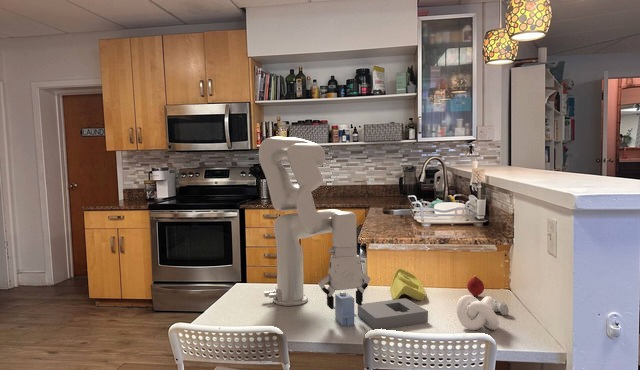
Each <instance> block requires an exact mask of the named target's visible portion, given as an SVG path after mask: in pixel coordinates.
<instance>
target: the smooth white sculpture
mask: <svg viewBox="0 0 640 370" xmlns="http://www.w3.org/2000/svg"><path fill="white" fill-rule="evenodd" d="M492 299H493V300H494V304H493V307H492V310H493V311H494V312H495V313H499V312H500V314H501V315H503V316H507V315H509V313H510V312H509V311H510V310H509V307H508V305H507V303H506V302H501V301H499V300H498V299H496V298H495V299H494V298H492Z"/></svg>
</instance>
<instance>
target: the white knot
mask: <svg viewBox="0 0 640 370" xmlns="http://www.w3.org/2000/svg"><path fill="white" fill-rule="evenodd" d="M493 299H494V298H493V297H491V296H490V295H487V296H485V297H483V298H482V299H481V300H479V299H478V298H476V297H474V296H473V295H472V294H465V295H462V296H461V297H459V299H458V301H457V303H456V314H457V317H458V320H459V323H460V324H461V325H462V326H463V327H464V328H465V329H467V330H469V329H470V330H469V331H477V330H480V329H482V327H484V326H485V327H486V328H487V329H488V330H490V331H491V330H493V331H494V330H497V329H498V328H499V325H500V321H499V318H498V315H497V314H496V312H494V311H493V310H492V307H493V304H494V300H493Z"/></svg>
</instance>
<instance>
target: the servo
mask: <svg viewBox="0 0 640 370" xmlns="http://www.w3.org/2000/svg"><path fill="white" fill-rule="evenodd" d="M333 310H334V311H335V312H334V315H335V317H334V318H335V319H334V320H336V321H337V322H338V324H340V326H341V327H345V326H347V327H350V326H352V325H355V317H357V316H358V314H357V313H355V298H354V297H353V296H352V295H350V294H349V293H347V291H345V290H344V291H343V290H340V291H339V293H335V294H334V309H333Z"/></svg>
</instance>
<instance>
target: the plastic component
mask: <svg viewBox="0 0 640 370" xmlns="http://www.w3.org/2000/svg"><path fill="white" fill-rule="evenodd" d="M390 294H391V300H396V299H400V297H401V296H402V295H407V296H409V297H410V298H412V299H415V300H417V301H419V300H422V301H424V299H425V297H426V295H427V291H426V290H425V288H424V285H423V283H422V281H421V280H420V279H419V278H418V277H417V276H416V275H414V274H413V273H411V272H409V271H407V270H405V269H404V268H400V267H399V268H397V269H396V271H395V273H394V275H393V278H392V281H391V284H390Z"/></svg>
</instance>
